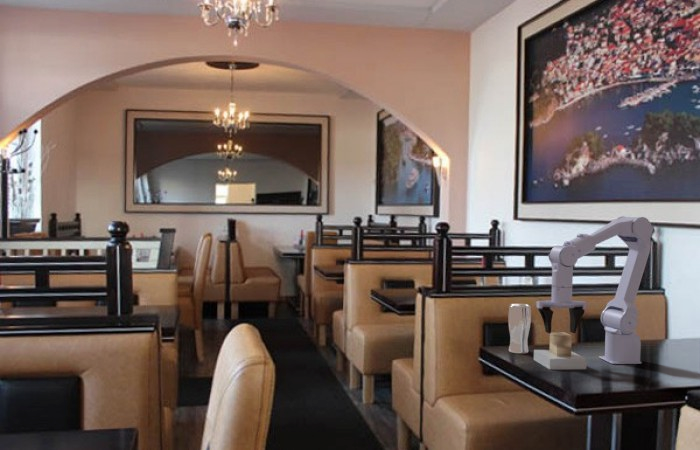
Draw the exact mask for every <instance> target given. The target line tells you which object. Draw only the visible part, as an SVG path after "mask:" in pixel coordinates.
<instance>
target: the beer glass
mask: <svg viewBox="0 0 700 450" xmlns="http://www.w3.org/2000/svg"><path fill="white" fill-rule="evenodd" d="M531 311H532V310H531V304H528V303H520V302H518V303H516V302H514V303H513V302H512V303H509V305H508V314H507V316H508V317H507V319H508V320H507V322H508V331H509V336H510V337H509V339H510V340H509V346H508V351H509V353H514V354H520V355H521V354H522V355H523V354H524V355H525V354H529V346H528V338H529V334H530V333H529V332H530V328H531V323H532V312H531Z"/></svg>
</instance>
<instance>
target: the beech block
mask: <svg viewBox="0 0 700 450" xmlns="http://www.w3.org/2000/svg"><path fill="white" fill-rule="evenodd" d="M572 340H573V339H572V335H571V334H569V333H567V332H565V331H561V332H560V331H557V332H555V331H554V332H552V331H551V333H549V350H550V353H551V354H553V355H555V356H571V351H572V345H573V344H572Z"/></svg>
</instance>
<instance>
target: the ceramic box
mask: <svg viewBox="0 0 700 450" xmlns="http://www.w3.org/2000/svg"><path fill="white" fill-rule="evenodd" d="M533 361H535V362H536V363H539V364H540V365H542V366H543V367H544V368H547V369H548V370H586V369H587V362H588V361H587V358H586V357H584V356H583V355H580V354H578V353H576V352H574V351H572V350H571V356H555V355H553V354H551V353H550V349H533Z"/></svg>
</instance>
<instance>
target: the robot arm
mask: <svg viewBox="0 0 700 450" xmlns="http://www.w3.org/2000/svg"><path fill="white" fill-rule="evenodd" d="M653 231H654V227H653V225H652V224H651V222H650V220H649V219H648V218H647V217H643V216H639V217H637V216H635V217H634V216H633V217H631V216H618V217H617V218H615V219H612V220H611V221H610V222H608V223H607V224H605V225H604V226H602V227H601V228H599V229H597V230H596V231H594V232H592V233H591V234H588V233H578V234H576V237H575V238H573V239H571V240H569V241H567V240H566V241H565V242H563V244H562V245H554V247H552V249H551V250H550V252H549V253H548V255H547V256H548V257H547V258H548V261H549V262H550V264H551V270H552V271H551V300H550V299H548V300H546V299H545V300H536V308H537V309H538V312H539V314H540V315H541V318H542V322H543V325H544V329H545V333H546V334H547V333H548V334H550V333H552V320H553V315H554V311H553V310H552V309H568V311H569V321H570V322H569V331H570V332H571V333H573V334H576V333H577V328H578V326H579V323H580V321H581V319H582V317H583V316H584V314H585V309H587V302H586V301H584V300H573V279H574V278H573V277H574V275H573V273H574V272H573V271H574V266H575V265H576V263H577V262H578V260H579V259H581V258H582V257H585V256H586V255H588V254H590V253H592V252H594V251H595V250H596V246H597V245H599V244H601V243H602V242H605V241H607V240H609V239H612V238H614V237H616V236H617V237H618V238H619V239H620V240H622V241H623V242H624V244H625V245H626V246H627V248H628V254H627V257H626V261H625V263H624V267H623V270H622V273H621V276H620V280H619V282H618V287H617V289H616V293H615V295H614V298H613V299H611V300H610V301H609V302H607V304H606V306H605V308H604V309H603V310H602V312H601V314H600V323H601V324H602V326H603V327H604V328H603V329H604V330H605V336H604V337H605V339H604V355H599V356H598V358H599V359H601V360H603V361H606V363H610V364H612V365H628V364H629V365H632V364H633V365H637V364H638V365H639V364H642V361H641V350H642V349H641V347H642V342H641V337H640V335H639V334H638V333H637V332H635V331H636V330H637V328H638V325H639V319H638V316H639V313H640V311H639V310H638V308H637V306H636V305H635V302H636V299H637V295H638V292H639V288H640V284H641V282H642V277H643V275H644V273H645V272H644V271H645V268H646V266H647V265H646V264H647V261H648V258H649V255H650V252H651V247H652V246H651V245H652V244H651V243H652V241H651V237H652V235H653Z"/></svg>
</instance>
